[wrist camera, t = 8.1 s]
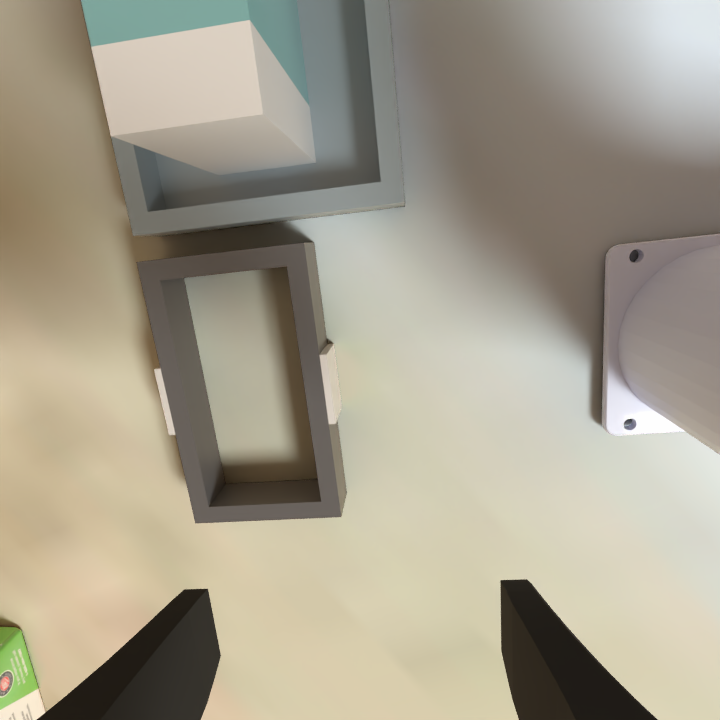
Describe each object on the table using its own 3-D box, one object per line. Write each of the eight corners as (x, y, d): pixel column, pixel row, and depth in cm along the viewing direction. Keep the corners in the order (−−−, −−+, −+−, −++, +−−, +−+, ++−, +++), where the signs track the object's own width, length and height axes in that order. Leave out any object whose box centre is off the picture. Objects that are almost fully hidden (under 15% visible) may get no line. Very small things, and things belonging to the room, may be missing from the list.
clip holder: (320, 241, 19) (312, 241, 17) (352, 492, 22) (347, 516, 20) (156, 260, 20) (129, 262, 18) (207, 499, 23) (189, 523, 21)
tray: (369, -221, 15) (365, -290, 13) (404, 206, 18) (405, 202, 16) (77, -153, 16) (34, -207, 14) (159, 236, 20) (133, 236, 18)
